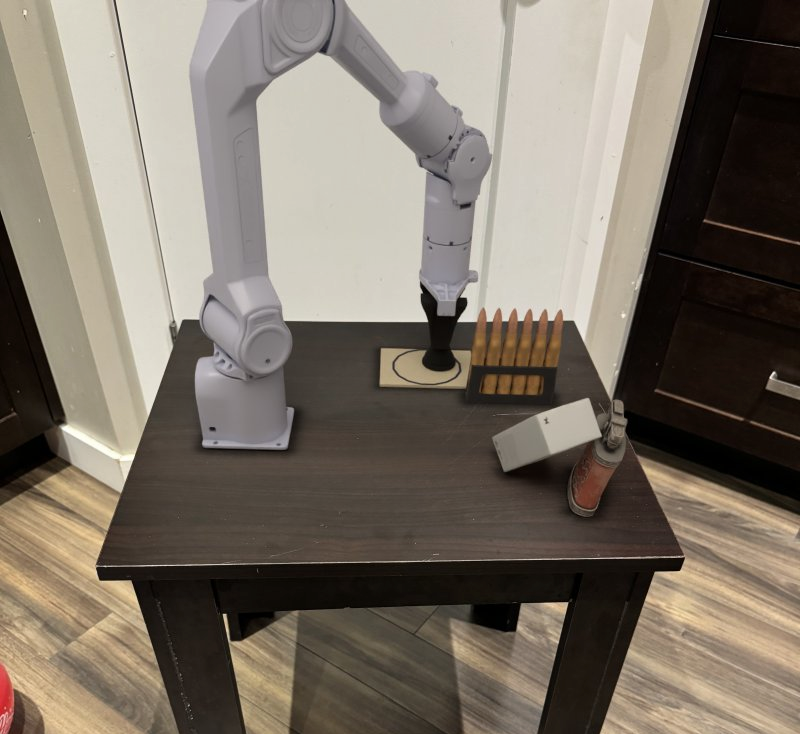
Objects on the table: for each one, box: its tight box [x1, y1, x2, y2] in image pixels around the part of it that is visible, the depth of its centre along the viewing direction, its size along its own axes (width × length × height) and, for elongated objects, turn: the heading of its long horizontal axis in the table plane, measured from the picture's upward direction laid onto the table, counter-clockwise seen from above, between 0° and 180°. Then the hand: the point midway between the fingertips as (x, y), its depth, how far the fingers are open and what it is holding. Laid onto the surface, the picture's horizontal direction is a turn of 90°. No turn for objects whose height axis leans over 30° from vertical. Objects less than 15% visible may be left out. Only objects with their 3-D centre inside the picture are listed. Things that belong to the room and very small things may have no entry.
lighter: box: [567, 399, 628, 518], centre depth 78 cm, size 8×3×10 cm, turn 168°
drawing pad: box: [379, 347, 472, 390], centre depth 99 cm, size 12×9×1 cm
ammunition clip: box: [464, 307, 564, 405], centre depth 91 cm, size 11×2×12 cm, turn 91°
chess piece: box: [422, 344, 456, 371], centre depth 96 cm, size 4×4×10 cm
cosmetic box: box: [491, 397, 602, 473], centre depth 79 cm, size 6×4×12 cm
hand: (439, 342), depth 98 cm, fingers closed on chess piece, 2 cm apart
